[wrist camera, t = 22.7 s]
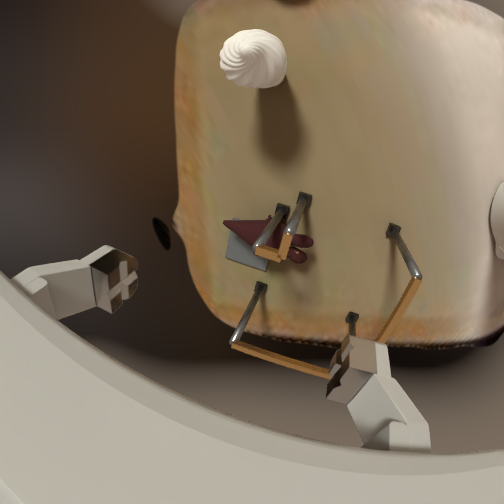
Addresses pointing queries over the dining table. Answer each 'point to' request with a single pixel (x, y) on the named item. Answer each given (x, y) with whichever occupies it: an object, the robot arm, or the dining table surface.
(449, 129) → the dining table surface
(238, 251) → the mat
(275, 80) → the soft serve ice cream cone
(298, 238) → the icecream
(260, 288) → the wire frame
